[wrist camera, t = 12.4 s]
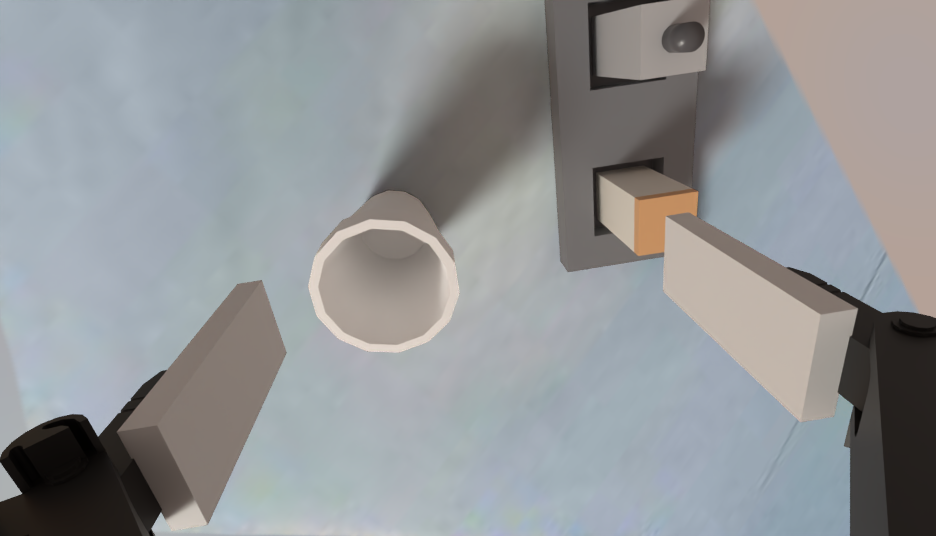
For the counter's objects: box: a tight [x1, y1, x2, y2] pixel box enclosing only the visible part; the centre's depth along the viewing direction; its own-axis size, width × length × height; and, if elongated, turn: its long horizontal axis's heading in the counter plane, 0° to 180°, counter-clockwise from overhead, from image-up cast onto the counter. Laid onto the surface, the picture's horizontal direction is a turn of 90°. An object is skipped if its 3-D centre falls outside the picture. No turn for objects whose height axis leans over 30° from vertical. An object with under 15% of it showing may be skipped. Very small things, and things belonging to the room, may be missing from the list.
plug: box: [596, 165, 698, 256], centre depth 38 cm, size 4×4×9 cm
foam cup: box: [308, 190, 460, 352], centre depth 37 cm, size 10×9×13 cm
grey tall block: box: [592, 0, 710, 80], centre depth 33 cm, size 4×4×11 cm
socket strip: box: [545, 0, 698, 272], centre depth 39 cm, size 24×11×2 cm, turn 8°
